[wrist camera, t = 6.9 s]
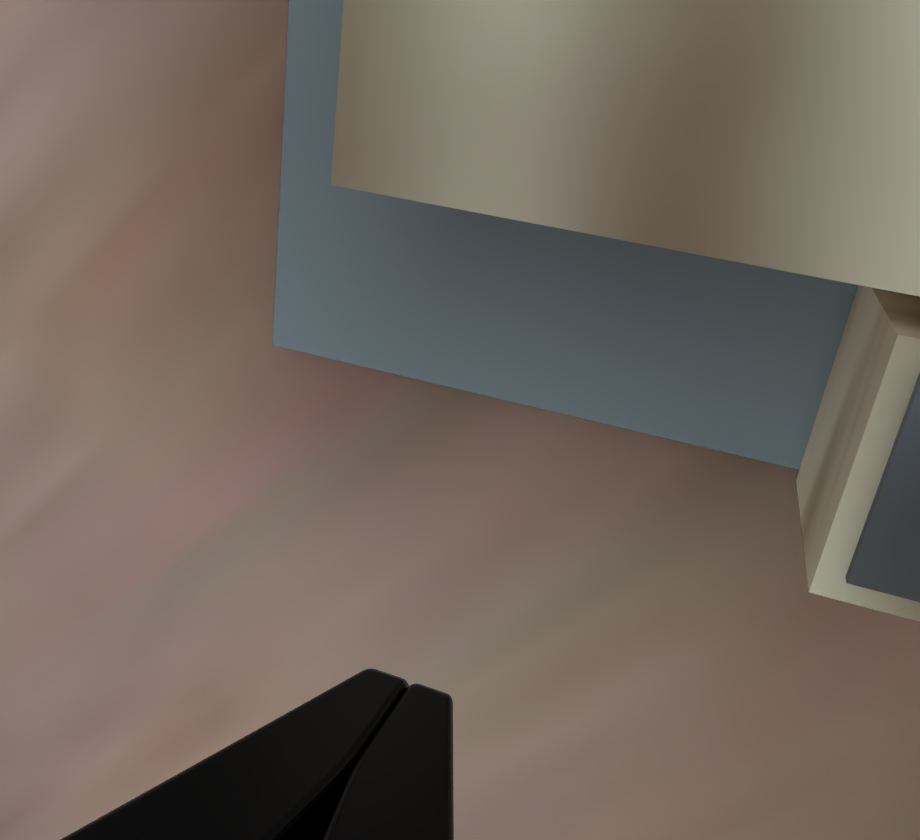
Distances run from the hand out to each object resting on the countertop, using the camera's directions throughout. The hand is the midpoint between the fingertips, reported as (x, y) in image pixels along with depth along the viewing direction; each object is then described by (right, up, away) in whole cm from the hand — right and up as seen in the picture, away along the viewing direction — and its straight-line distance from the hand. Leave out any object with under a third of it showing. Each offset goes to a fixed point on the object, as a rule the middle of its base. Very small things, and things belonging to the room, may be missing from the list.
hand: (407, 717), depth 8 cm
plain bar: (+5, +9, +8) cm, 13 cm away
